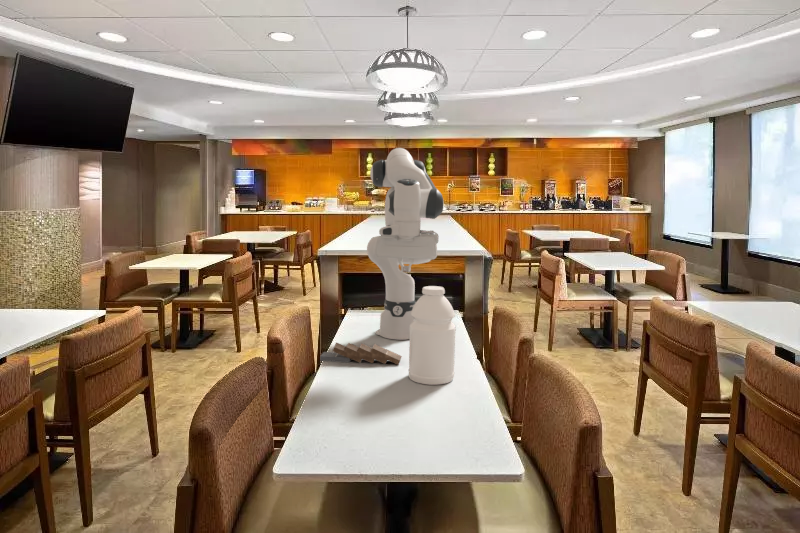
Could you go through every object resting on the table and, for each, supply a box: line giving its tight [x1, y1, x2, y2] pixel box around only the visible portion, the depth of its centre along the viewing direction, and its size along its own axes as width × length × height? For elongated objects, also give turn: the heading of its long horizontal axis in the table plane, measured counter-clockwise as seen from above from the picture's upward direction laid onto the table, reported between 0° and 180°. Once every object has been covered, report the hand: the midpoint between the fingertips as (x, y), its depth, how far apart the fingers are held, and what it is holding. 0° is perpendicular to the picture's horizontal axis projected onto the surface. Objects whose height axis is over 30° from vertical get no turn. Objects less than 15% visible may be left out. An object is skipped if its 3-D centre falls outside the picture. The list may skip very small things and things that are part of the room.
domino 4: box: [371, 343, 403, 366], centre depth 193 cm, size 2×5×10 cm
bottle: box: [408, 285, 457, 386], centre depth 177 cm, size 14×14×28 cm
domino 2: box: [345, 342, 376, 364], centre depth 194 cm, size 2×5×10 cm
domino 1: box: [332, 342, 363, 364], centre depth 194 cm, size 2×5×10 cm
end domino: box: [319, 351, 352, 363], centre depth 196 cm, size 2×5×10 cm
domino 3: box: [358, 343, 388, 365], centre depth 193 cm, size 2×5×10 cm
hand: (405, 271), depth 192 cm, fingers closed
